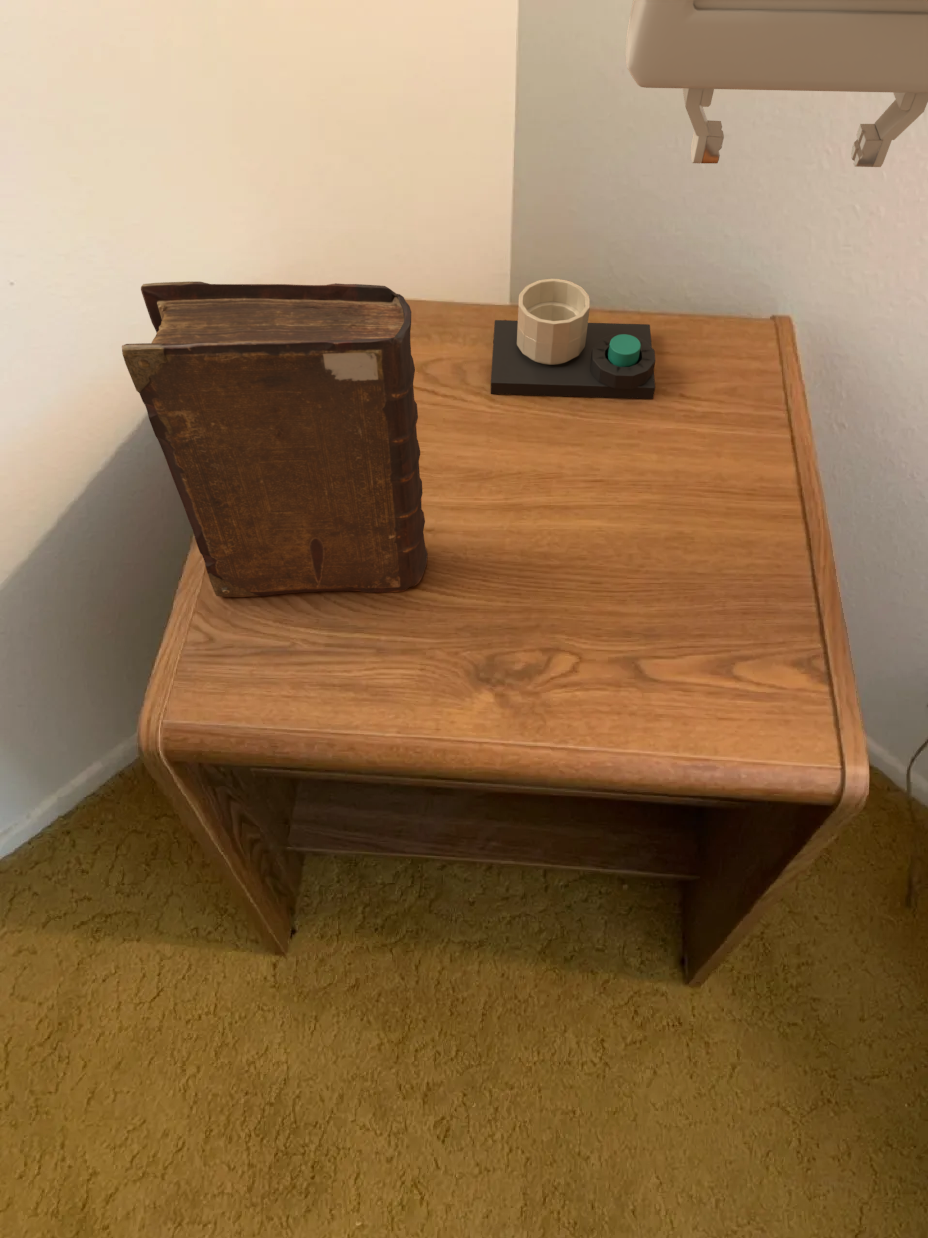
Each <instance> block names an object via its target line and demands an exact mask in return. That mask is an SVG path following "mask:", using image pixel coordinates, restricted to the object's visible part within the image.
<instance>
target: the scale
mask: <svg viewBox="0 0 928 1238" xmlns="http://www.w3.org/2000/svg"><path fill="white" fill-rule="evenodd" d="M493 324H494V325H493V339H492V340H493V344H492V355H491V356H492V359H491V375H490V394H491V395H509V396H510V395H512V396H513V395H515V396H541V397H543V396H545V397H575V398H603V399H604V398H605V399H607V398H608V399H638V400H639V399H641V400H653V399H654V395H655V391H656V381H655V365H656V353H655V352H656V351H655V349H654V348H653V347H652V346H653V345H652V334H651V324H648V323H647V324H645V323H617V322H616V323H613V322H611V323H610V322H588V326H587V334H586V343H585V347H584V349H583V350H582V352H581V353H580V354H579V356H577V357H575V358H573V359H571V360H570V361H568V362H565V363H562V364H555V365H548V364H542V363H538V362H535V361H533V360H532V359H530V358H529V357H527V356H526V355H524V354H523V353H522V352H521V350H520V349H519V347H518V346H517V327H518V320H508V319H507V320H506V319H495V320H494V323H493ZM621 334H627V335H631V336H634V337H636V338H637V339H638V340H639V341H640V344H641V348H640V353H639V359H638V361H637V363H636V364H635V365H633V366H631V367H618V366H616V365H613V364H612V363H611V362H610V361H609V359H608V351H609V344H610V341H611V339H612V338H613V337H615V336H617V335H621Z"/></svg>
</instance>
